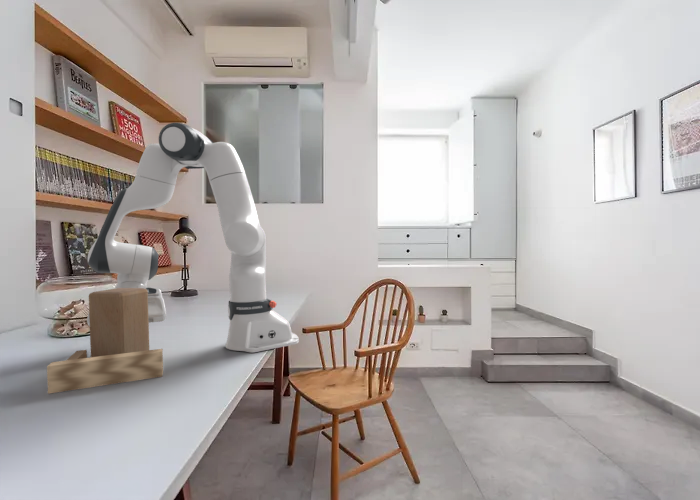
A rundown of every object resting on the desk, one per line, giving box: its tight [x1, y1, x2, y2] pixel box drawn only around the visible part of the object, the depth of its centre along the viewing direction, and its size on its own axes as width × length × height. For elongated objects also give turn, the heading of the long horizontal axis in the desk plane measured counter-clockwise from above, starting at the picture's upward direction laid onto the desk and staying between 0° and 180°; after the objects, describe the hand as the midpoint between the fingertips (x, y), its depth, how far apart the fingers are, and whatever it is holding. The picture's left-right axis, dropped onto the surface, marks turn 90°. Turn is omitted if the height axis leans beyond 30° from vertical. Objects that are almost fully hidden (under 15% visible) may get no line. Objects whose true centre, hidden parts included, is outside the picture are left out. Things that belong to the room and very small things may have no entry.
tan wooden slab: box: [46, 348, 164, 395], centre depth 86 cm, size 22×11×6 cm, turn 114°
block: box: [88, 287, 150, 357], centre depth 96 cm, size 10×10×20 cm
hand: (126, 335), depth 103 cm, fingers closed
